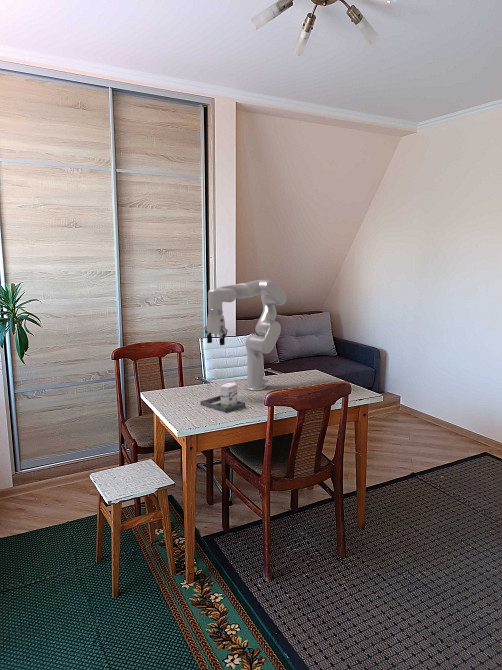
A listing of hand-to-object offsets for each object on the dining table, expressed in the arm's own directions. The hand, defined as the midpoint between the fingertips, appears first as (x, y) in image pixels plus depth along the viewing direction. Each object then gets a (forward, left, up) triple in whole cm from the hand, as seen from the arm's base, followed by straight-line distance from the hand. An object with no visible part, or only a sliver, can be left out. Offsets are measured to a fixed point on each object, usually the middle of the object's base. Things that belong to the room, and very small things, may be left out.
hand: (215, 344), depth 252 cm
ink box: (+7, +17, -30) cm, 35 cm away
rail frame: (+7, +12, -30) cm, 33 cm away
